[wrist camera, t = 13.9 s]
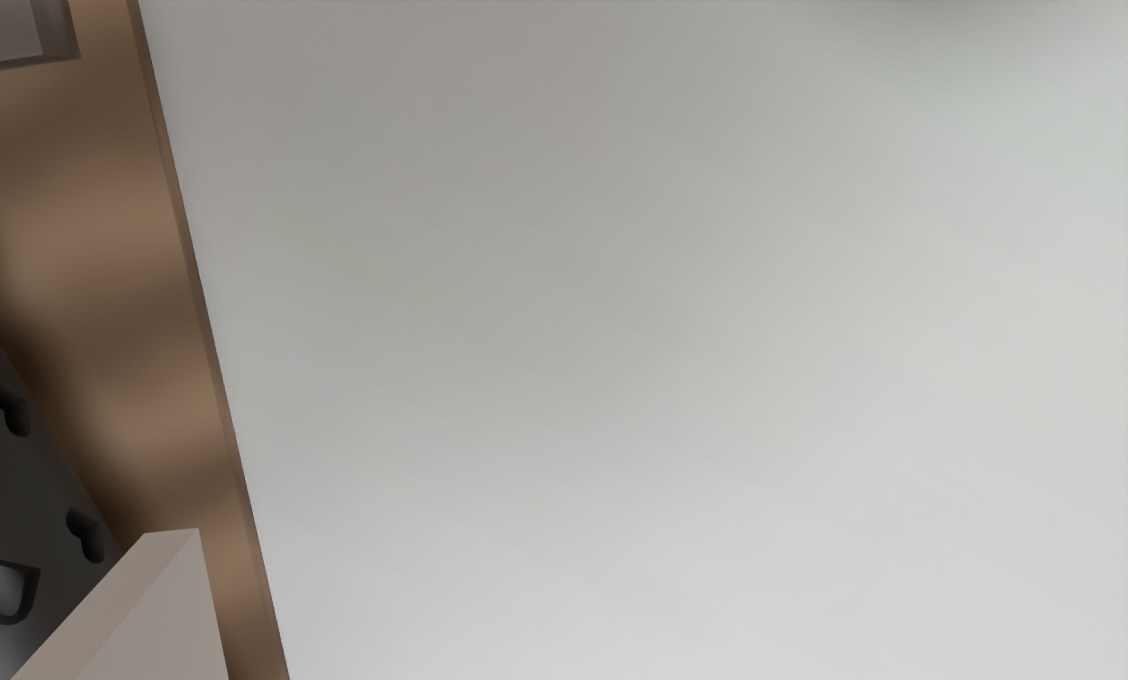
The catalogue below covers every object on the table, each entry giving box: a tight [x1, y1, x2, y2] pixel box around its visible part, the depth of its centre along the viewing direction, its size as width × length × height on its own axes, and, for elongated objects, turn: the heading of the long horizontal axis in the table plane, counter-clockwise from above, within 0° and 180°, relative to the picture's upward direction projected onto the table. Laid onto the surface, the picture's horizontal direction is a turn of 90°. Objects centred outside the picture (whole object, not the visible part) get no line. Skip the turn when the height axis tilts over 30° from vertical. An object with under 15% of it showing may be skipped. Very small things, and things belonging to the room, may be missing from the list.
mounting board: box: [0, 0, 290, 680], centre depth 40 cm, size 36×16×4 cm, turn 8°
